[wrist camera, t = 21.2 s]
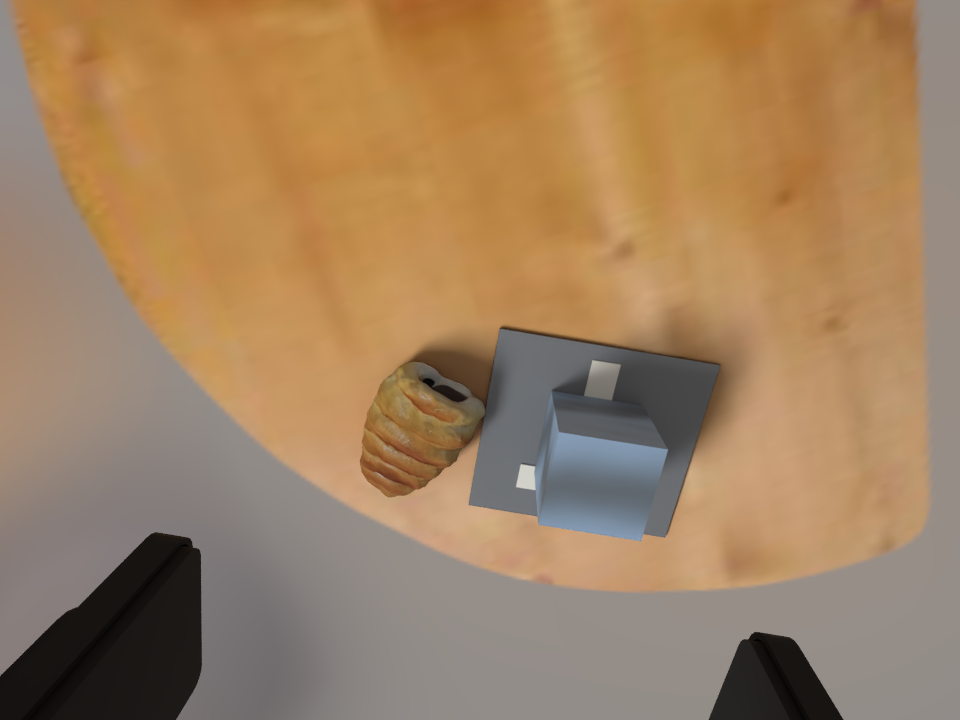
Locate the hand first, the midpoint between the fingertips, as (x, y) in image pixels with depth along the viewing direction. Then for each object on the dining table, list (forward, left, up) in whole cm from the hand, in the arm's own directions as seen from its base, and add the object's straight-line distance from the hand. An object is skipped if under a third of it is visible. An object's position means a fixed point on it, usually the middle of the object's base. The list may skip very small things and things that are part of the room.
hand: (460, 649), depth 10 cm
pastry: (+9, -3, -27) cm, 28 cm away
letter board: (+8, +8, -26) cm, 28 cm away
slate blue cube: (+8, +8, -26) cm, 28 cm away
